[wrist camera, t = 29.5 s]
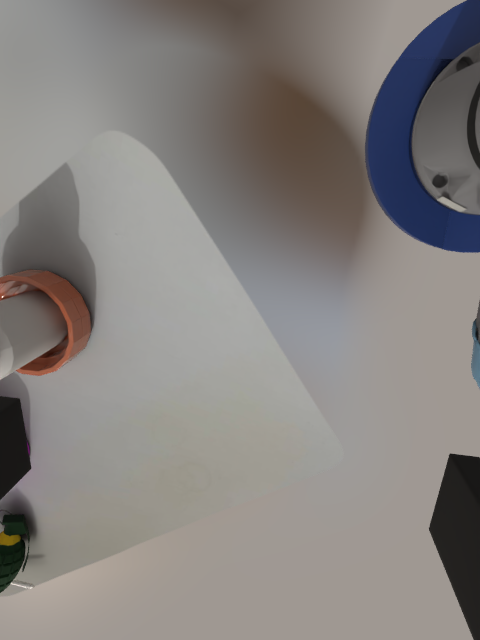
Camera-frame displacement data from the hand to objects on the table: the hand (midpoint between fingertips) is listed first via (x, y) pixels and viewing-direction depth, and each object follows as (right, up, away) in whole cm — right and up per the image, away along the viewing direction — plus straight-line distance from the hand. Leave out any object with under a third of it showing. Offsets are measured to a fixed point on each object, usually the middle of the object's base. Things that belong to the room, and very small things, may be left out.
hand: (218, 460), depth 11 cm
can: (-24, +5, +35) cm, 43 cm away
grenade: (-38, -38, +46) cm, 71 cm away
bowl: (-24, +5, +35) cm, 43 cm away
